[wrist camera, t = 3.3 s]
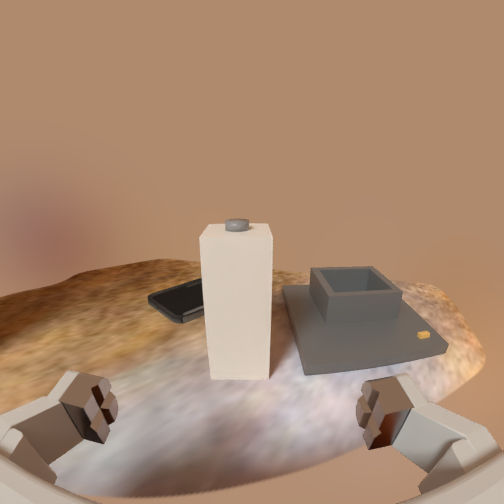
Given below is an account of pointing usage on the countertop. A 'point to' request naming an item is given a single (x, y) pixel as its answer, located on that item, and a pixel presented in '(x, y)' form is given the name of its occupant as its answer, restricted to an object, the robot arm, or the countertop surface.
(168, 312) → the phone
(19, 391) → the countertop surface
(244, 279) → the cream square peg
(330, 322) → the dock
